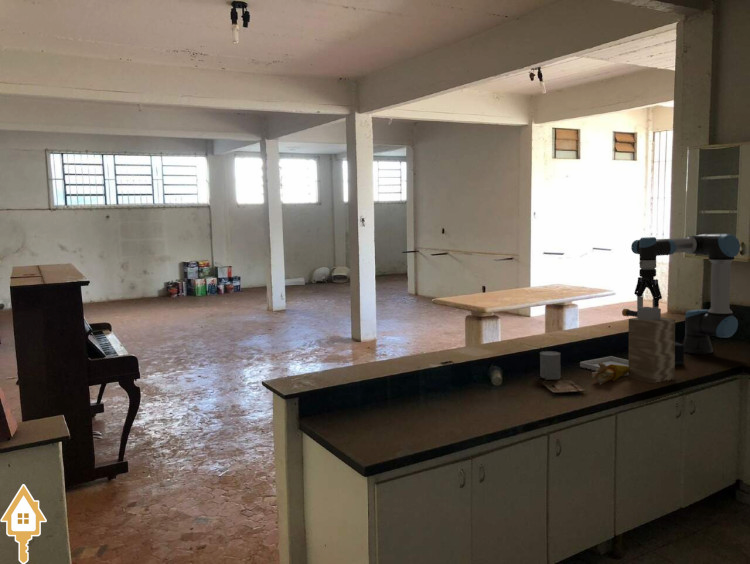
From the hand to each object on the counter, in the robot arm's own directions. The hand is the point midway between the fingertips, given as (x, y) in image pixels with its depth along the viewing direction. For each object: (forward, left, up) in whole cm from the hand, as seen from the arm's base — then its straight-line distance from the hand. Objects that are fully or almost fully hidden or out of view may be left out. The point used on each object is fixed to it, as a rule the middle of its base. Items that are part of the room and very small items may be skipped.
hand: (647, 311), depth 299 cm
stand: (+14, +14, -29) cm, 35 cm away
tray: (+14, -8, -29) cm, 33 cm away
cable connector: (+14, +8, -1) cm, 16 cm away
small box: (-18, +1, -29) cm, 34 cm away
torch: (+32, +8, -28) cm, 44 cm away
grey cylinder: (+52, -12, -29) cm, 61 cm away
